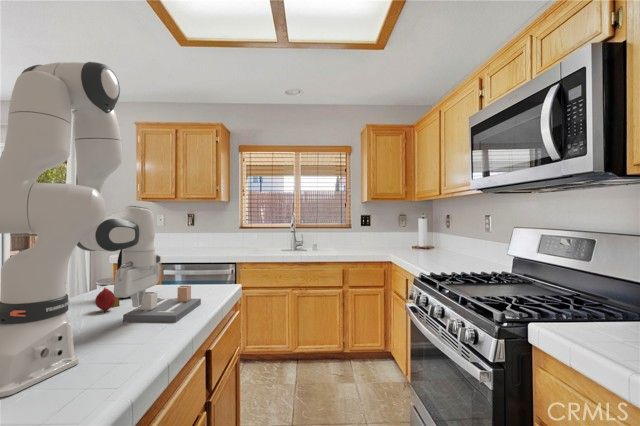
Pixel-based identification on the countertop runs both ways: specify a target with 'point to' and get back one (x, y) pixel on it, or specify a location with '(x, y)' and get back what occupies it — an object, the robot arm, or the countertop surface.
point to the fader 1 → (149, 301)
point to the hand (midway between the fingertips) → (137, 305)
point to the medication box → (116, 302)
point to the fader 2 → (184, 293)
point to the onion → (105, 299)
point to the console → (163, 311)
